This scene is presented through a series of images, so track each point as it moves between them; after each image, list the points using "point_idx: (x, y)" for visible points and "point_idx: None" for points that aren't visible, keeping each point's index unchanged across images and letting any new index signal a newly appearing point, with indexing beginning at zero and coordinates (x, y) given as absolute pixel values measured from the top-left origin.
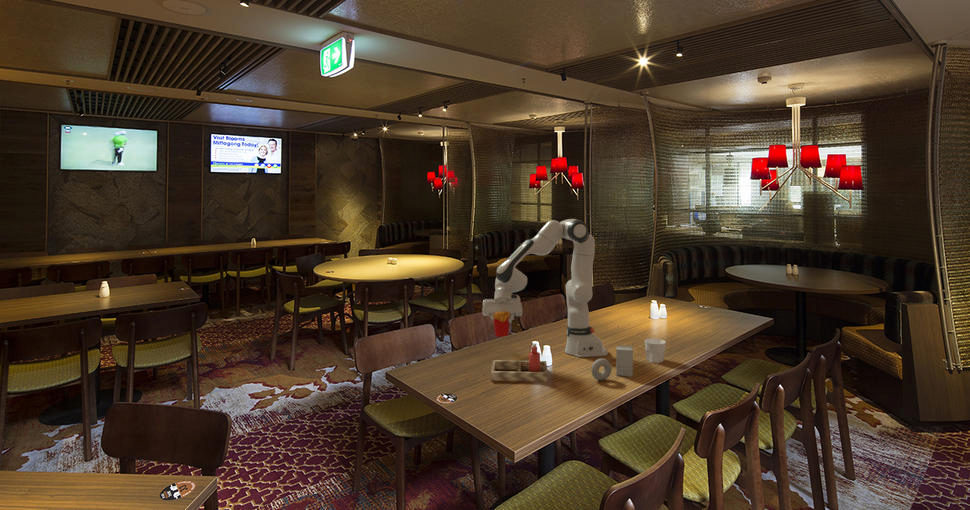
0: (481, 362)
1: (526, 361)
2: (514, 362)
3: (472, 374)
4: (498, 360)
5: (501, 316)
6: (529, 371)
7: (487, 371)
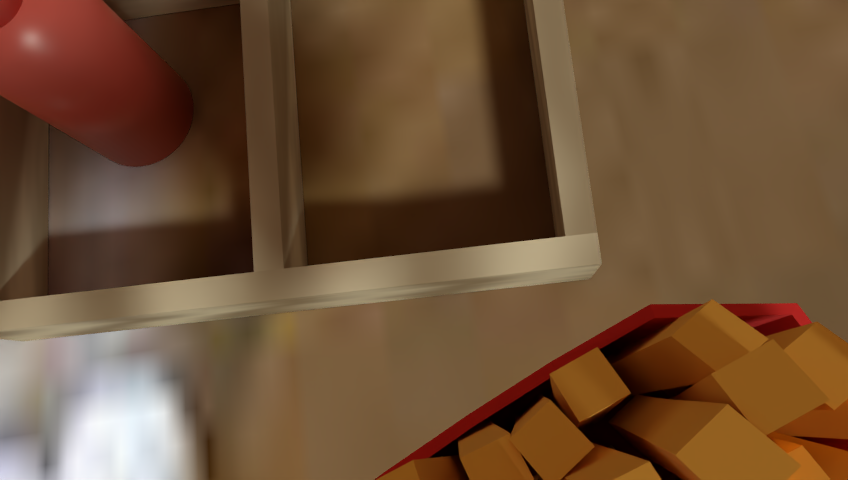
0: None
1: (186, 282)
2: (332, 266)
3: (771, 56)
4: (532, 263)
5: (536, 434)
6: (160, 59)
7: (632, 169)
